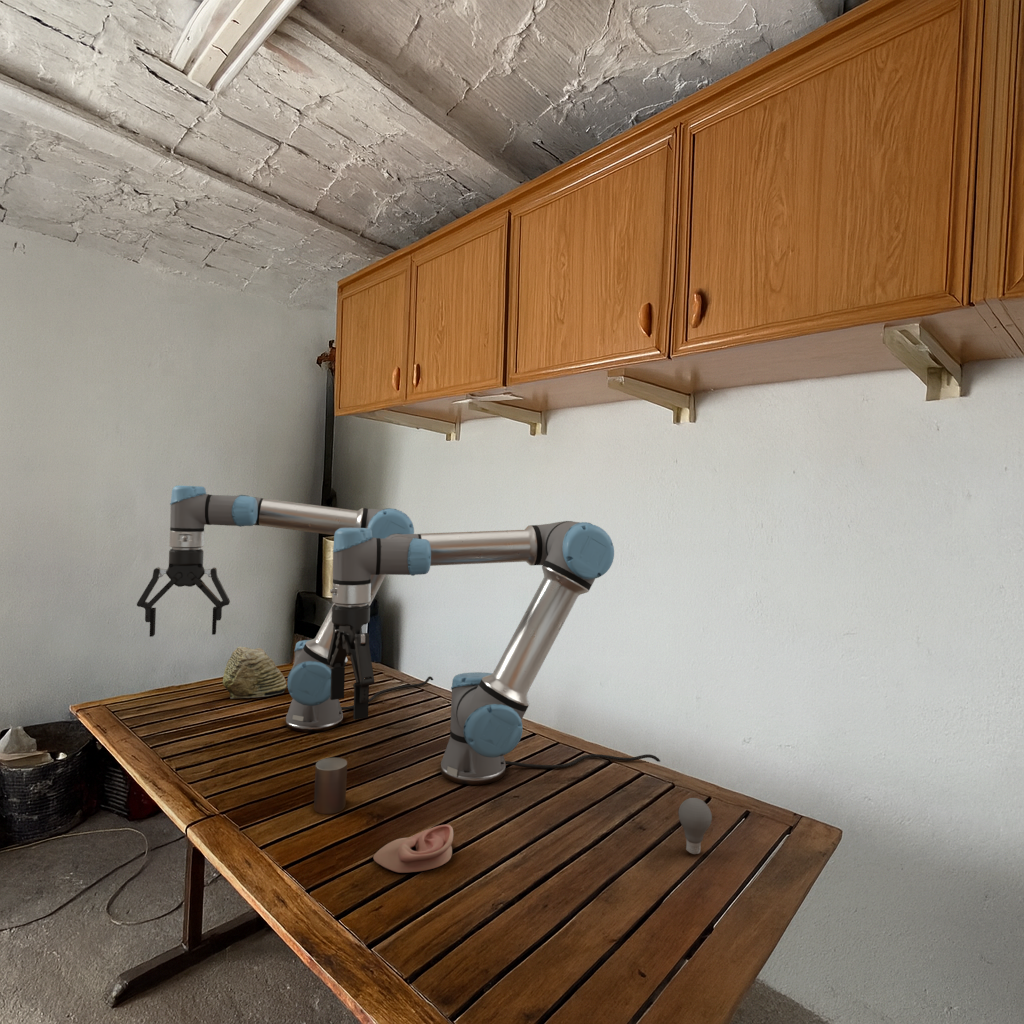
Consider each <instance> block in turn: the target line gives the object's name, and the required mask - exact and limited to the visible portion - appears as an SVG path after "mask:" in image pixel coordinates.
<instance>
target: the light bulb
mask: <svg viewBox="0 0 1024 1024" xmlns="http://www.w3.org/2000/svg"><path fill="white" fill-rule="evenodd" d="M677 815H678V820H679V822H680V824H681V827H682V829H683V832H684V837H685V841H686V842H685V843H686V845H685V850H686V851H687V852H688V853H690V854H691V855H698V854H700V853H701V850H702V849H701V848H702V847H701V845H702V842H703V840H704V837H705V834H706V832H707V831H708V830H709V828H710V826H711V824H712V822H713V821H712V820H713V815H712V810H711V809H710V807H709V805H708V804H707V803H706V802H705V801H704V800H702V799H700V798H697V797H689V798H687V799H685V800H684V801H683V802H682V803H681V804H680V806H679V807H678V814H677Z"/></svg>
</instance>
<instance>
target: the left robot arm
mask: <svg viewBox="0 0 1024 1024" xmlns="http://www.w3.org/2000/svg"><path fill="white" fill-rule="evenodd" d="M169 505H170V518H169V520H170V523H169V524H170V526H169V527H170V528H169V547H170V549H169V551H168V567H167V568H161V567H159V566H157V567H155V568H154V569H153V571H152V572H153V573H152V576H151V579H150V581H149V582H148V584H147V586H146V587H145V589H144V591H143V593H142V594H141V595H140V596H139V597H140V598H139V599H138V601H136V606H137V607H139V608H143V609H144V611H145V612H144V615H145V616H144V621H145V623H149V637H150V638H151V637H154V636H155V635H156V620H157V619H156V614H157V607H153V606H155V604H156V603H157V602H158V601H159V600H160V599H161V598H162V597H163V596H164V595H165V594H166V593H167V592H168V591H169V590H170V589H171V588H172V587H173V586H176V587H178V588H181V587H188V588H189V587H194V586H196V587H197V588H198V589H199V590H200V591H201V592H202V593H203V594H204V595H205V596H206V597H207V598H208V599H209V601H210V602H211V603H212V604H213V605H214V606H213V607H212V621H211V635H213V636H215V635H216V634H217V624H218V623H217V622H218V621H221V620H222V616H223V607H226V606H228V605H230V604H231V600H230V597H229V596H228V594H227V592H226V589H225V588H224V586H223V584H222V582H221V580H220V578H219V577H218V568H217V567H212V568H205V567H204V550H203V549H202V548H203V547H204V546H205V526H206V525H207V526H211V525H212V526H228V527H229V526H231V527H241V528H242V527H252V526H260V527H267V528H268V527H269V528H276V529H284V530H293V531H299V532H306V533H314V534H315V533H316V534H322V535H331V536H334V534H335V532H336V531H337V530H338V529H339V528H368V529H371V531H372V535H373V538H380V539H382V538H386V537H387V536H388V535H391V534H395V533H401V534H415V526H414V523H413V521H412V519H411V518H410V517H409V516H408V514H406V513H405V512H403V511H402V510H400V509H397V508H391V507H388V508H367V507H361V508H360V509H358V510H355V509H347V508H341V507H340V508H339V507H333V506H325V505H317V504H310V503H301V502H296V501H295V502H294V501H286V500H280V499H273V498H265V497H264V498H263V497H259V496H258V497H257V496H250V495H246V494H237V495H229V494H208V493H207V490H206V487H205V486H202V485H201V486H199V485H198V486H197V485H180V484H179V485H175V486H173V487H172V489H171V497H170V503H169ZM164 575H166V576H167V577H168V579H169V581H168V582H167V583H166V584H165V585H164V586H163V587H162V588H161V589H160V590H159V591H158V592H157V593H156V594H155V595H154V596H153V597H152V598H151V599H150V600H149V601H147V600H148V598H149V596H150V594H151V593H152V591H153V589H154V588H155V587H156V584H157V583H158V581H159V579H160V578H162V577H164ZM204 575H207V577H208V578H211V581H212V583H213V585H214V587H215V589H216V591H217V592H218V594H219V596H220V599H221V600H220V599H219V598H218V597H217V595H215V594H214V592H213V591H212V590H211V589H210V588H209V587H208V586H207V584H206V583H205V582H204V581H203V580H202V578H203V577H204ZM386 576H387V575H386V574H379V575H371V578H370V579H371V601H370V602H369V603H367V604H368V605H369V606H370V607H371V604H372V602H373V601H374V599H375V597H376V595H377V593H378V592H379V589H380V587H381V585H382V584H383V581H384V579H385V578H386ZM332 603H333V602H332ZM333 605H335V603H333V604H332V605H331V607H330V609H329V611H328V612H327V614H326V617H325V619H324V621H323V623H322V624H321V626H320V628H319V630H318V632H317V633H316V636H315V637H314V638H313V639H303V640H299V641H297V642H296V643H295V648H294V650H293V651H294V663H293V665H292V667H291V670H290V671H289V673H288V675H287V680H286V685H287V690H288V693H289V695H290V698H292V699H291V702H290V704H289V708H288V711H287V713H286V715H285V726H286V728H287V729H289V730H291V731H294V732H295V731H296V732H301V733H316V732H325V731H329V730H332V729H335V728H337V727H339V726H340V725H342V723H343V722H344V714H343V711H348V710H354V704H353V705H349V706H341V702H340V699H335V700H331V699H330V695H331V668H332V667H330V662H329V663H328V661H327V658H328V653H329V649H330V644H331V639H332V634H333V623H332V606H333ZM332 656H333V655H332ZM347 656H348V655H347ZM347 656H346V659H345V663H346V664H345V665H346V666H347V663H348V661H349V660H348V657H347ZM346 666H341V667H344V668H345V667H346ZM429 681H434V678H433V676H428V677H427V678H426V679H425V681H423V682H420V683H413V684H412V683H411V684H404V685H398V686H394V687H389V688H385V689H383V690H380V691H377V692H376V693H374V694H373V695H372V696H371V697H369V703H371V701H374V699H376V698H377V697H379V696H380V695H382V694H384V693H388V692H392V691H397V690H402V689H407V688H408V689H409V688H416V687H421V686H425V685H426V684H427V683H428V682H429Z"/></svg>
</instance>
